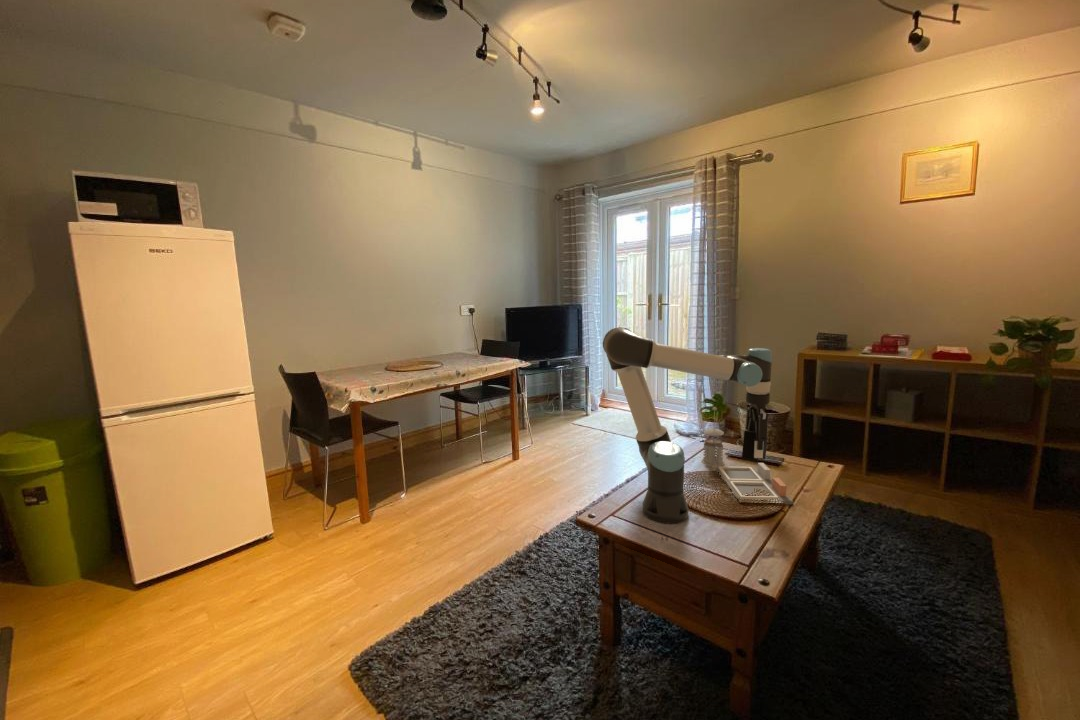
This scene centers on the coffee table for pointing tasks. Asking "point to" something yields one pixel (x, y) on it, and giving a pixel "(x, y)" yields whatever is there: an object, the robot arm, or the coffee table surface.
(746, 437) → the speaker
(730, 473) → the dock board
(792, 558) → the coffee table surface
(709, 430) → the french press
